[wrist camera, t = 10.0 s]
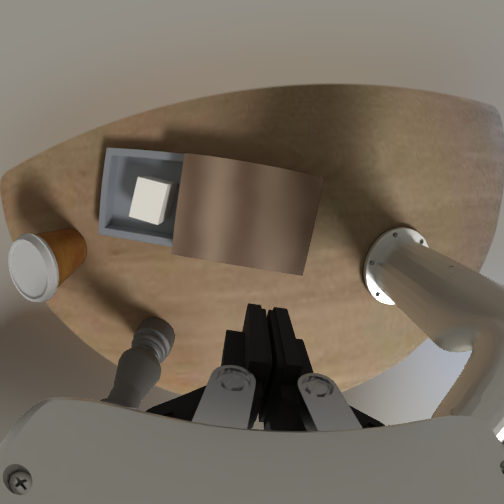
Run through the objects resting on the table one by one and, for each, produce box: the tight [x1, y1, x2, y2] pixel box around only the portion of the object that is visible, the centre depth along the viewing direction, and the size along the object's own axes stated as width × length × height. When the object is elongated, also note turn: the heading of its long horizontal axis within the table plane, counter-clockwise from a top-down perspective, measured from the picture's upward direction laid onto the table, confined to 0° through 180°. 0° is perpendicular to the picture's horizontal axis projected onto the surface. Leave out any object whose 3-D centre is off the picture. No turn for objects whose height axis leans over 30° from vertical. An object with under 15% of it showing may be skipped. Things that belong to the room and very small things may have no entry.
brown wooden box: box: [172, 153, 324, 276], centre depth 34 cm, size 16×12×6 cm
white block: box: [129, 176, 178, 225], centre depth 33 cm, size 5×5×4 cm
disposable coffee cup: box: [8, 229, 87, 302], centre depth 32 cm, size 10×10×12 cm
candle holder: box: [100, 317, 175, 410], centre depth 30 cm, size 6×6×25 cm
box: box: [98, 148, 185, 247], centre depth 35 cm, size 12×12×3 cm
